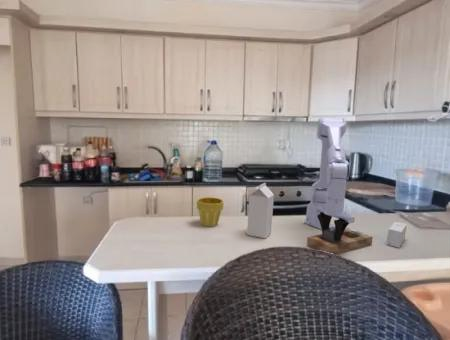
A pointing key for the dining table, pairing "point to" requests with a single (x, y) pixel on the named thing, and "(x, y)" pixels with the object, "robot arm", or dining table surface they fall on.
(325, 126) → the robot arm
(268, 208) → the milk carton
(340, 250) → the brown flat rectangular frame
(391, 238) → the skincare box
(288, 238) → the dining table surface
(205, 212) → the plant pot
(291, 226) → the dining table surface
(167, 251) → the dining table surface
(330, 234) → the plug
